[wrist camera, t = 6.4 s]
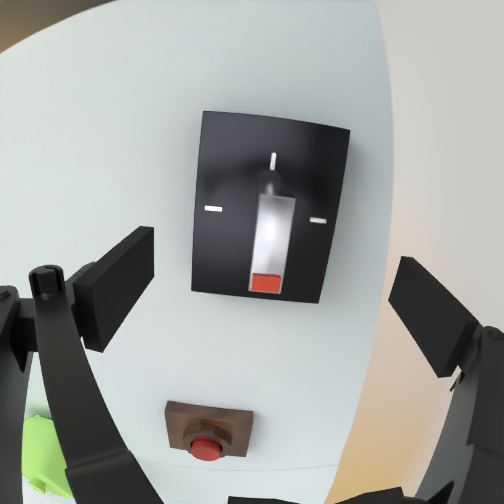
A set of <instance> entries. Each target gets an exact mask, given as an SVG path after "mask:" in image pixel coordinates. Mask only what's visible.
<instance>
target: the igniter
mask: <svg viewBox="0 0 504 504" xmlns="http://www.w3.org/2000/svg"><path fill="white" fill-rule="evenodd" d="M165 419H166V425H167V432H168V438H169V444H170V448H175V449H181V450H187V451H188V452H189V453H191V450H192V444H193V441H194V440H196V439H209V440H213V441H215V442H218V443H219V444H220V446H221V450H220V457H219V458H221V457H225V456H226V455H227V456H239V457H246V454H247V449H248V445H249V440H250V435H251V430H252V425H253V411H242V410H231V409H222V408H213V407H205V406H198V405H191V404H184V403H178V402H172V401H167V405H166V408H165ZM191 454H192V453H191Z"/></svg>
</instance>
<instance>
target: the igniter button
mask: <svg viewBox="0 0 504 504" xmlns="http://www.w3.org/2000/svg"><path fill="white" fill-rule="evenodd" d="M220 450H221V446H220V444H219V443H218V442H215V441H213V440H209V439H196V440H194V441H193V444H192V450H191V453H192V455H193V456H194V457H196V458H197V459H200V460H204V461H214V460H217V459H218V458H219V457H220Z"/></svg>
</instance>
